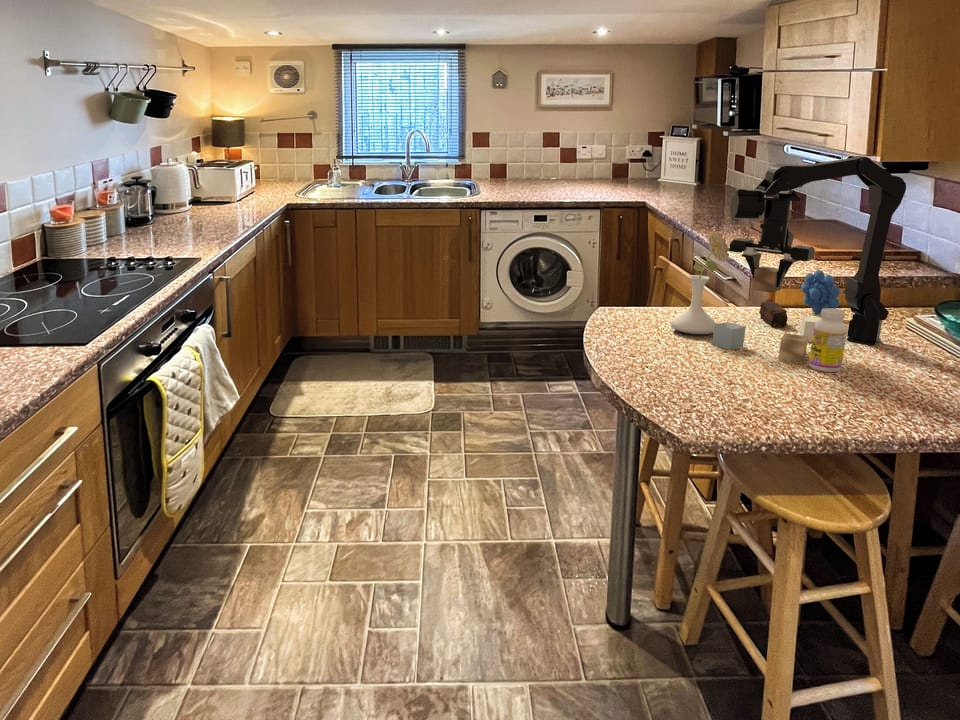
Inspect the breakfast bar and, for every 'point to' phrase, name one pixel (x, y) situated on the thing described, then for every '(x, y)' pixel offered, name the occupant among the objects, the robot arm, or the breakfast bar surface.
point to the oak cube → (793, 347)
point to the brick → (773, 314)
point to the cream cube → (808, 327)
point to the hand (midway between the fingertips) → (766, 285)
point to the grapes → (820, 291)
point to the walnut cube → (766, 279)
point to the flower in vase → (695, 316)
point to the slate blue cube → (728, 335)
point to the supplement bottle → (828, 341)
